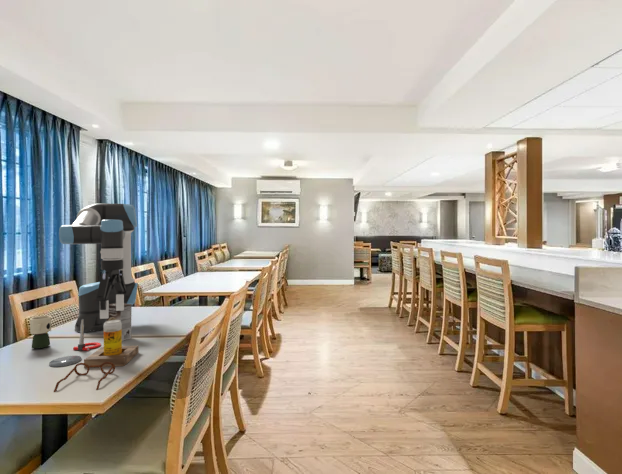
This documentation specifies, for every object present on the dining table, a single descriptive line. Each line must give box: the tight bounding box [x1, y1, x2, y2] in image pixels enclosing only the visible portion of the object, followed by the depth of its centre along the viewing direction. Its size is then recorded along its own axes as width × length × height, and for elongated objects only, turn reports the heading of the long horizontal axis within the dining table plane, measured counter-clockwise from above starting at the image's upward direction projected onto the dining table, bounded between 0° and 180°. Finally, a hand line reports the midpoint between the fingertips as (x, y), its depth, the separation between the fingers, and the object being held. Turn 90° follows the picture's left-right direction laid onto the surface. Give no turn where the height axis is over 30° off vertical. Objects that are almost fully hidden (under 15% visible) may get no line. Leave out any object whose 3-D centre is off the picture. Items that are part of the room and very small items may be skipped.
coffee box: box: [107, 303, 132, 342], centre depth 160 cm, size 9×6×16 cm
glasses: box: [53, 362, 116, 393], centre depth 114 cm, size 13×13×5 cm
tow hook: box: [72, 319, 102, 352], centre depth 149 cm, size 8×13×9 cm
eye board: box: [83, 345, 140, 369], centre depth 134 cm, size 14×14×3 cm
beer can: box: [103, 320, 123, 356], centre depth 134 cm, size 6×6×15 cm
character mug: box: [29, 315, 52, 349], centre depth 148 cm, size 11×7×13 cm, turn 31°
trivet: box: [48, 355, 82, 368], centre depth 132 cm, size 10×10×1 cm
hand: (112, 314), depth 133 cm, fingers open, 13 cm apart
